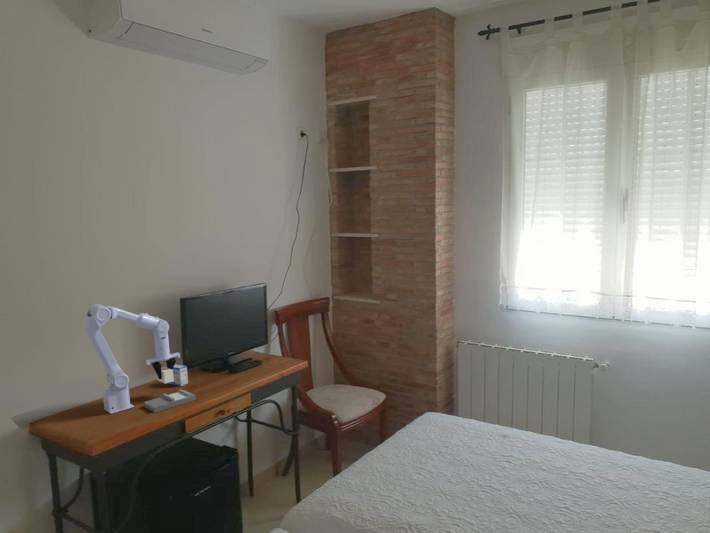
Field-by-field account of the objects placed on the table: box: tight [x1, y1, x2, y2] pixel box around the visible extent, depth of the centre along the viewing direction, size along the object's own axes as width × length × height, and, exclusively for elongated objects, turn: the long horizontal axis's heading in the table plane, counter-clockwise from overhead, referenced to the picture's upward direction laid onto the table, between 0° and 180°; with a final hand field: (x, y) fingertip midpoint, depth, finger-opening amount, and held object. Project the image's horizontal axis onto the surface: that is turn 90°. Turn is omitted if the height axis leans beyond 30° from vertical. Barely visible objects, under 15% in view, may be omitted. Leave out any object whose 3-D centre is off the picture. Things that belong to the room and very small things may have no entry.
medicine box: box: [168, 363, 189, 387], centre depth 250 cm, size 8×4×9 cm, turn 62°
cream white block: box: [155, 366, 174, 384], centre depth 233 cm, size 4×8×5 cm, turn 44°
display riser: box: [143, 388, 197, 413], centre depth 225 cm, size 18×10×3 cm, turn 134°
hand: (165, 377), depth 234 cm, fingers closed on cream white block, 4 cm apart
